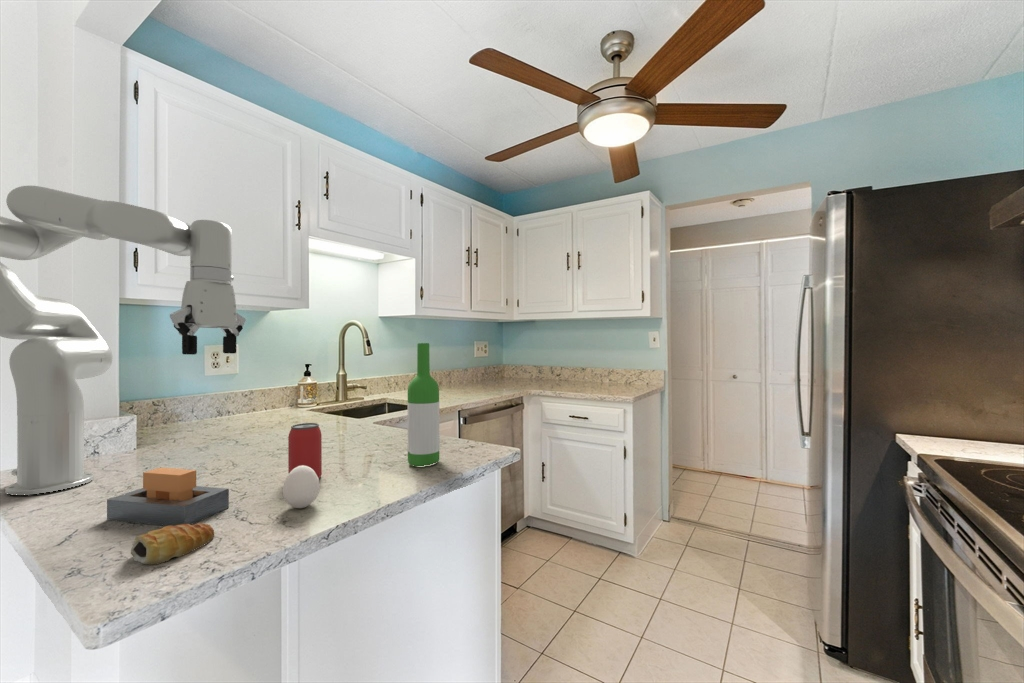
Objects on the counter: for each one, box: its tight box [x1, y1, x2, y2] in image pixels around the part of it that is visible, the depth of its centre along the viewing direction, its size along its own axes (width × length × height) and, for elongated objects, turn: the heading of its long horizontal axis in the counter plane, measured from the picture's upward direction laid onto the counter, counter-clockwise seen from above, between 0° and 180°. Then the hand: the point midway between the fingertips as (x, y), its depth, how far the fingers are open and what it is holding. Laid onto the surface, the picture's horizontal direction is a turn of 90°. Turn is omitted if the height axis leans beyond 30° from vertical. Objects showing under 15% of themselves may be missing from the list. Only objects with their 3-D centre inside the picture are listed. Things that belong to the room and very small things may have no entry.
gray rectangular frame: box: [106, 485, 230, 527], centre depth 75 cm, size 16×8×4 cm, turn 79°
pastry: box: [130, 522, 215, 565], centre depth 62 cm, size 9×7×4 cm
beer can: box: [287, 422, 323, 479], centre depth 93 cm, size 7×7×12 cm
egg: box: [282, 465, 321, 509], centre depth 77 cm, size 6×6×8 cm
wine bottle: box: [407, 342, 441, 466], centre depth 105 cm, size 8×8×30 cm
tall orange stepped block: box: [142, 467, 197, 501], centre depth 75 cm, size 8×3×8 cm, turn 78°
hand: (210, 353), depth 94 cm, fingers open, 9 cm apart
